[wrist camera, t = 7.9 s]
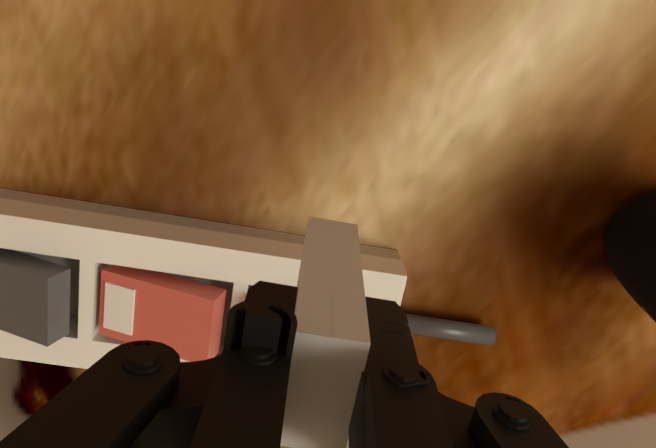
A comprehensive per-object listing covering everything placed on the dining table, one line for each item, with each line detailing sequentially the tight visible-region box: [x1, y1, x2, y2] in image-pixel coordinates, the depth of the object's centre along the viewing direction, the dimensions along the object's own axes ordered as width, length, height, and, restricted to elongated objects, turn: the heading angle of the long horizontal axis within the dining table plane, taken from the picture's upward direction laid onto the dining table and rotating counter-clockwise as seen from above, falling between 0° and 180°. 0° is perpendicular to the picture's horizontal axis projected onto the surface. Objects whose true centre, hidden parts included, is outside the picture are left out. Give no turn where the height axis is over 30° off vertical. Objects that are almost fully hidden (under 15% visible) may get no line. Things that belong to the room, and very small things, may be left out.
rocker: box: [0, 248, 71, 347], centre depth 33 cm, size 8×5×2 cm, turn 81°
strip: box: [0, 188, 496, 369], centre depth 36 cm, size 38×10×5 cm, turn 80°
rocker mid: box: [99, 265, 226, 362], centre depth 34 cm, size 8×5×2 cm, turn 80°
